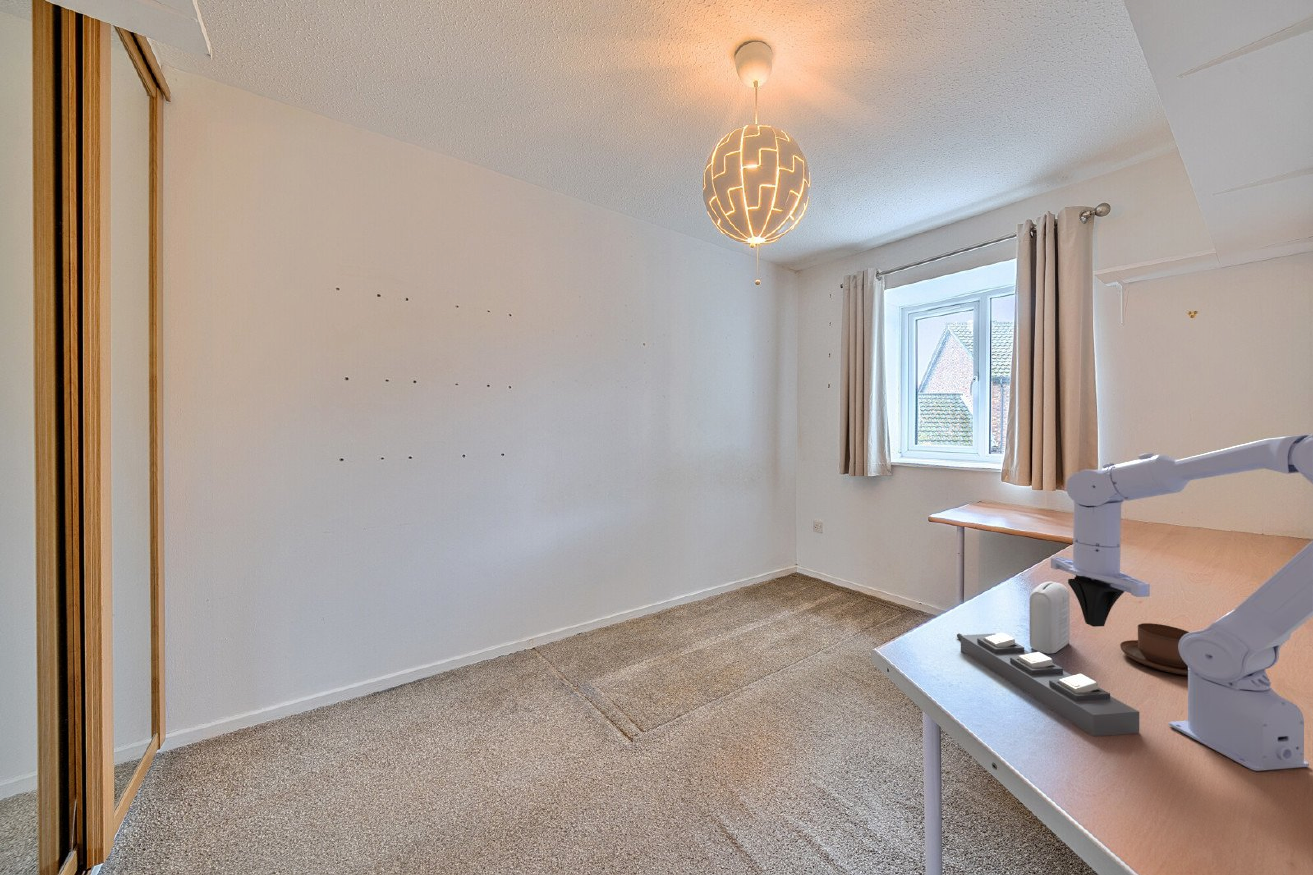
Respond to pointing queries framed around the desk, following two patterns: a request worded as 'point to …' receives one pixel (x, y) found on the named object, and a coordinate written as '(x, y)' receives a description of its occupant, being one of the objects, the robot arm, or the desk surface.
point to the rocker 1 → (1000, 640)
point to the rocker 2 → (1079, 683)
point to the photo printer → (1049, 617)
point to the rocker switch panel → (1054, 689)
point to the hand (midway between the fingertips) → (1094, 624)
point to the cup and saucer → (1157, 648)
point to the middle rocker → (1036, 660)
